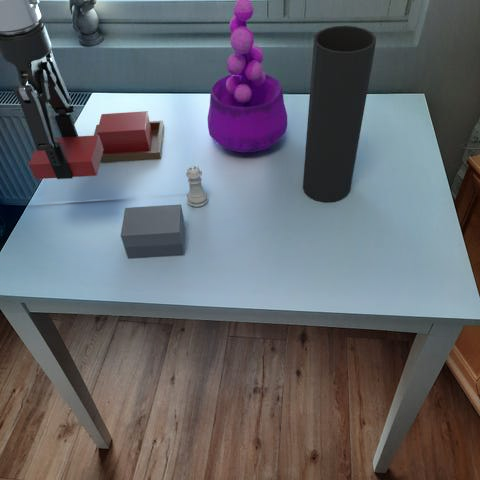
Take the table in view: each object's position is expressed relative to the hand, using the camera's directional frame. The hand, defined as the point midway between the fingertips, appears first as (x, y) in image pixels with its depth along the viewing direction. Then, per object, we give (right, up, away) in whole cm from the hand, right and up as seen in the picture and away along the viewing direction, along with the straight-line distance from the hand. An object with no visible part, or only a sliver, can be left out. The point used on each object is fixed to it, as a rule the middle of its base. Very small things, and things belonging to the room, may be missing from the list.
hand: (70, 162), depth 85 cm
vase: (+50, 0, +17) cm, 52 cm away
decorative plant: (+33, +15, +29) cm, 46 cm away
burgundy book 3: (+4, +14, +29) cm, 32 cm away
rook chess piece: (+22, -3, +16) cm, 27 cm away
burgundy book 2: (+4, +16, +26) cm, 31 cm away
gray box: (+14, -13, +9) cm, 21 cm away
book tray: (+4, +13, +29) cm, 32 cm away
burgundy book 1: (0, 0, 0) cm, 0 cm away
